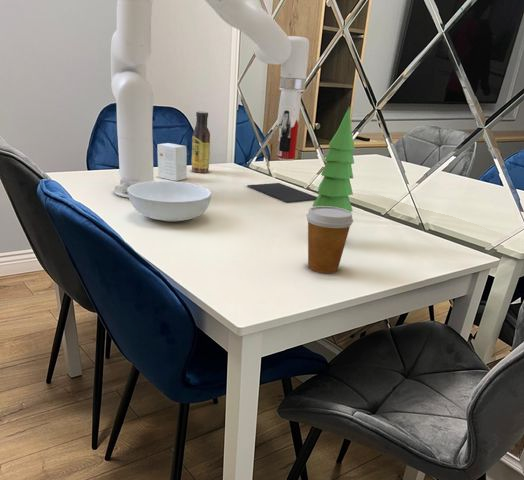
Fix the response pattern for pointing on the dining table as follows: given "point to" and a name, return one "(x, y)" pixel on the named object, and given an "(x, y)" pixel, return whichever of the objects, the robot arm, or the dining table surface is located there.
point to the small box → (172, 161)
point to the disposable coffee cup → (327, 237)
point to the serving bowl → (169, 200)
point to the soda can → (293, 136)
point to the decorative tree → (338, 169)
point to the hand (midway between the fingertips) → (286, 149)
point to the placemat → (283, 192)
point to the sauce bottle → (201, 144)
